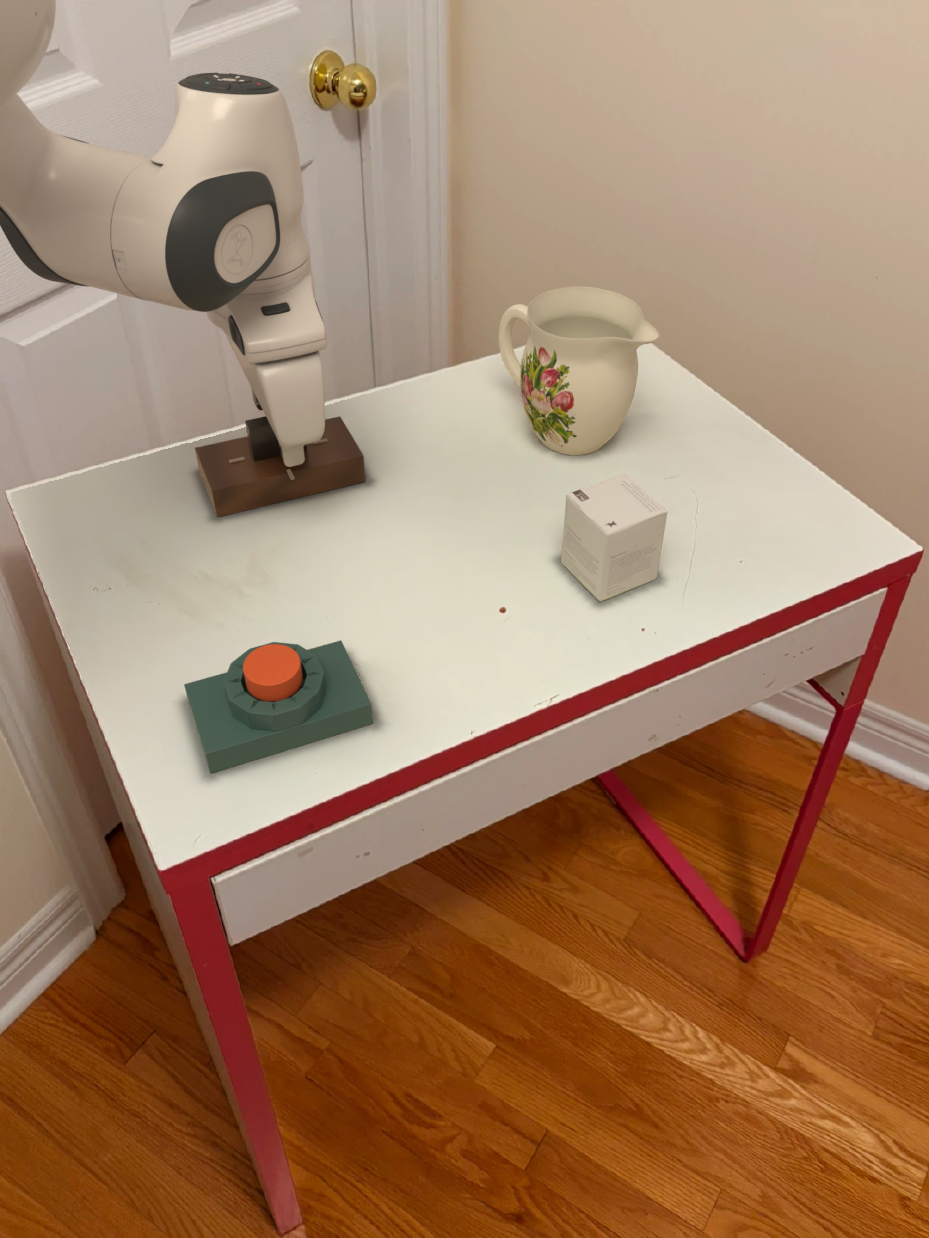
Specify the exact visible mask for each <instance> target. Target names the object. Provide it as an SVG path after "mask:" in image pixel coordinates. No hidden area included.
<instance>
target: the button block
mask: <svg viewBox="0 0 929 1238" xmlns="http://www.w3.org/2000/svg"><path fill="white" fill-rule="evenodd" d="M270 644H280V645H285V646H288V647H290V648H292V649H293V650H294V651H295V652H296V653H297V654H298V655H299V658H300V662H301V669H302V676H303V680H302V684H301V686H300V688H299V689H298V691H297V692H296V693H294V694H293V695H292V696H290V697H288V698H286V699H283V700H280V701H272V702H270V701H263V700H259V699H257V698H255V697H254V696H252V695H251V694H250V693H249V691H248V689H247V686H246V682H245V677H244V672H243V664H244V661H245V659H246V657H247V656H248V655H249V654H250V653H251V652H252V651H254V650H255V649H257V648H259V647H262V646H265V645H270ZM183 686H184V690H185V694H186V697H187V701H188V702H187V703H188V705H189V708H190V711H191V715H192V718H193V721H194V726H195V728H196V731H197V735H198V738H199V741H200V744H201V747H202V751H203V755H204V757H205V761H206V764H207V768H208V771H209V773H210V774H213V773H217V772H220V771H223V770H226V769H227V770H228V769H230V768H234V767H237V766H240V765H243V764H247V763H249V762H254V761H256V760H260V759H263V758H266V757H270V756H273V755H275V754H279V753H282V752H286V751H289V750H292V749H295V748H298V747H302V746H305V745H309V744H312V743H315V742H319V741H320V740H325V739H327V738H331V737H334V736H338V735H342V734H344V733H347V732H351V731H353V730H358V729H360V728H361V729H362V728H364V727H367V726H370V725H373V723H374V722H373V711H372V710H373V709H372V703H371V700H370V699H369V697H368V694H367V692H366V690H365V687H364V686H363V683H362V682H361V679H360V677H359V675H358V673H357V671H356V669H355V667H354V664H353V662H352V660H351V658H350V656H349V653H348V652H347V650H346V647H345V645H344V643H343V641H342V640H336V641H334V642H330V643H325V644H323V645H319V646H315V647H312V648H308V649H306V648H305V647H303V646H301V645H300V644H298V643H289V642H288V643H287V642H280V641H279V642H278V641H273V642H269V643H265V644H261V645H257V646H254V647H250V648H248V649H247V650H246V651H245V652H243V653H242V654H241V655H240V656H238V657H236V658H235V660H233V661H232V662H231V663H230V664H229V667H228V669H227V672H226V671H225V672H223V673H220V674H216V675H211V676H209V677H204V678H201V679H198V680H194V681H191V682H186V683H184V684H183Z"/></svg>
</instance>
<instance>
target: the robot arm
mask: <svg viewBox="0 0 929 1238" xmlns="http://www.w3.org/2000/svg"><path fill="white" fill-rule="evenodd" d="M56 12H57V0H0V228H1V230H2V232H3V234H4V235H5V237H6V240H7V241H8V243H9V245H10V246H11V248H12V249H13V251H14V253H15V254H16V256H17V257H18V258H19V260H20V261H21V262H22V263H23V265H25V266H26V268H28V269H29V270H30V271H31V272H33V274H35V275H36V276H38V277H40V278H42V279H45V280H47V281H50V282H54V283H61V284H68V285H74V286H80V287H89V288H95V289H97V290H103V291H106V292H111V293H115V294H118V295H122V296H126V297H130V298H134V299H138V300H142V301H146V302H152V303H155V304H159V305H163V306H164V305H165V306H168V307H172V308H176V309H181V310H185V311H195V312H201V313H206V316H207V317H208V320H209V321H210V322H211V323H212V324H213V325H215V326H216V327H218V328H219V329H221V330H222V331H223V333H224V334H225V336H226V339H227V341H228V343H229V345H230V347H231V349H232V351H233V353H234V355H235V357H236V359H237V361H238V364H239V366H240V367H241V369H242V371H243V374H244V375H245V378H246V379H247V382H248V383H249V386H250V390H251V396H252V401H253V403H254V405H255V407H256V408H257V410H258V411H263V413H264V415H265V416H266V417H267V419H268V421H269V423H270V425H271V427H272V429H273V431H274V433H275V435H276V437H277V439H278V442H279V448H280V455H281V457H282V459H283V461H284V464H285V465H286V466H288V467H292V466H296V465H300V464H302V463H303V462H304V460H305V457H304V449H303V447H304V445H306V444H310V443H314V442H317V441H319V440H320V439H321V438H322V436H323V433H324V430H325V419H326V404H325V403H326V402H325V400H326V399H325V379H324V378H325V377H324V369H323V363H322V357H321V353H320V351H323V350H326V349H327V347H328V338H327V330H326V326H325V324H324V320H323V316H322V314H321V311H320V309H319V305H318V303H317V300H316V292H315V291H316V290H315V283H314V278H313V272H312V264H311V253H310V246H309V241H308V239H307V237H306V235H305V232H304V229H303V225H302V211H303V206H304V197H305V195H304V194H305V193H304V186H303V176H302V168H301V160H300V154H299V147H298V143H297V142H298V141H297V138H296V133H295V128H294V124H293V120H292V116H291V113H290V112H291V111H290V110H289V106H288V103H287V101H286V99H285V96H284V94H283V92H282V91H281V89H280V88H279V87H277V86H275V85H274V84H273V83H271V82H270V81H268V80H266V79H263V78H260V77H255V76H250V75H245V74H239V73H231V72H229V73H222V72H221V73H219V72H200V73H195V74H191V75H187V76H186V77H185V78H183V79H181V80H178V82H177V84H176V87H175V99H174V101H175V107H174V108H175V120H174V123H173V126H172V128H171V131H170V132H169V135H168V136H167V138H166V140H165V141H164V143H163V145H162V146H161V147H160V148H159V149H158V150H157V151H156V153H154V154H153V155H151V156H149V155H144V154H138V153H133V152H129V151H126V150H125V151H124V150H119V149H115V148H110V147H104V146H100V145H96V144H92V143H89V142H86V141H84V140H80V139H77V138H74V137H70V136H65V135H63V134H59V133H57V132H54V131H53V130H50V129H49V128H48V127H46V126H44V125H43V124H42V123H41V121H40V120H39V119H38V118H37V116H36V115H35V113H34V112H33V111H32V110H31V109H30V108H29V106H28V105H27V104H26V102H25V101H24V100H23V99H22V97H21V96H20V95H19V94H18V93H19V92H20V91H21V90H22V89H23V88H24V87H25V86H26V84H27V83H28V82H29V81H30V80H31V79H32V77H33V76H34V74H35V73H36V71H37V70H38V68H39V67H40V64H41V63H42V61H43V59H44V57H45V55H46V53H47V51H48V48H49V46H50V43H51V39H52V36H53V32H54V27H55V20H56Z"/></svg>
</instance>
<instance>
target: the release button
mask: <svg viewBox="0 0 929 1238" xmlns="http://www.w3.org/2000/svg"><path fill="white" fill-rule="evenodd" d="M243 672H244V677H245V682H246V686H247V689H248V691H249V693H250V694H251V695H252V696H254V697H255V698H257V699H259V700H263V701H270V702H272V701H280V700H283V699H286V698H288V697H290V696H292V695H293V694H294V693H296V692H297V691H298V689H299V688H300V686H301V684H302V680H303V676H302V669H301V662H300V658H299V655H298V654H297V653H296V652H295V651H294V650H293V649H292V648H290V647H288V646H285V645H280V644H270V645H265V646H262V647H259V648H257V649H255V650H254V651H252V652H251V653H250V654H249V655H248V656H247V657H246V659H245V661H244V664H243Z"/></svg>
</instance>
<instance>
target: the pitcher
mask: <svg viewBox="0 0 929 1238" xmlns="http://www.w3.org/2000/svg"><path fill="white" fill-rule="evenodd" d="M517 319H519V320H522V321H523V322H524V323H525V324H527V326H528V329H529V336H528V339H527V341H526V344H525V346H524V349H523V352H522V355H521V359H520V362H519V359H518V358H517V356H516V353H515V349H514V344H513V328H514V324H515V321H516V320H517ZM660 336H661V333H660V332H659V330H658V329H657V328H656V327H655V326H654V325H652V324H651V323H650V322H648V321H647V320H646V319H645V317H644V314H643V310H642V308H641V307H640V305H639V304H638V303H637V302H636V301H634V300H632V299H631V298H629V297H627V296H625V295H624V294H621V293H618V292H616V291H613V290H609V289H605V288H600V287H595V286H580V285H579V286H578V285H577V286H565V287H559V288H553V289H550V290H547V291H545V292H543V293H540V294H539V295H537V296H536V297H534V298H533V299H532V300H531V301H530V302H529V303H528V305H525V304H523V303H517V304H513V305H511V306H509V307H508V308H507V309H506V310H505V311H504V313H503V314H502V317H501V319H500V324H499V328H498V347H499V353H500V357H501V360H502V362H503V364H504V366H505V368H506V370H507V372H508V373H509V375H510V376H511V378H512V379H513V381H514V382H515V383H516V384H517V385H518V386H519V389H520V395H521V400H522V405H523V409H524V412H525V416H526V418H527V421H528V423H529V426H530V427H531V429H532V431H533V433H534V434H535V435H536V436H537V438H538V439H539V440H540V442H541V443H542V444H543V446H545V447H546V448H548V449H549V450H552V451H554V452H556V453H559V454H563V455H569V456H581V455H582V456H583V455H587V454H591V453H594V452H596V451H598V450H600V449H601V448H603V446H604V445H605V444H606V443H607V442H609V441H610V440H611V439H612V438H613V437H614V436H615V435H616V433H617V432H618V430H619V429H620V427H621V426H622V424H623V422H624V420H625V419H626V417H627V414H628V413H629V410H630V408H631V405H632V402H633V400H634V396H635V393H636V388H637V381H638V375H639V358H638V351H637V350H638V349H639V347H642V346H644V345H650V344H652V343H655V342H657V341H658V340H659V339H660Z"/></svg>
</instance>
